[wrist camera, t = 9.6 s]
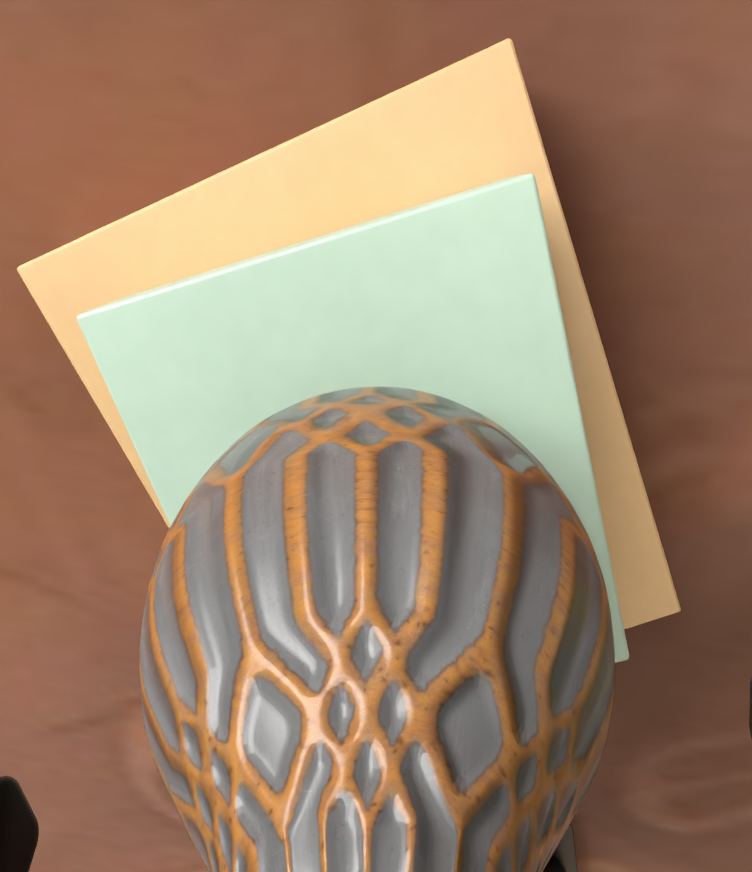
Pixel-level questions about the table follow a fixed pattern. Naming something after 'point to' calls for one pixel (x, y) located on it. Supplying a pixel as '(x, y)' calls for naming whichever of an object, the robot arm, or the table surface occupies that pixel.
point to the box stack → (365, 304)
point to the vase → (377, 645)
